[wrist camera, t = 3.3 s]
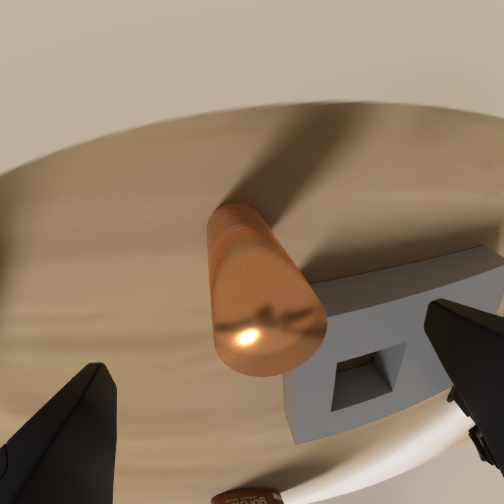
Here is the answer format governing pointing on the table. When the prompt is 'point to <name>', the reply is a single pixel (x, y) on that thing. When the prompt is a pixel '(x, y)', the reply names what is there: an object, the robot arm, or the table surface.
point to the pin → (258, 297)
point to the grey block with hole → (383, 341)
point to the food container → (249, 496)
